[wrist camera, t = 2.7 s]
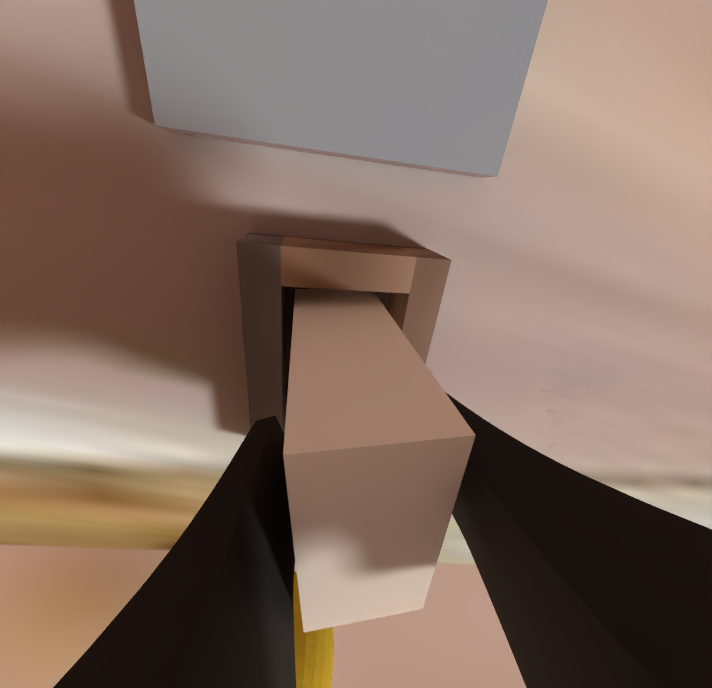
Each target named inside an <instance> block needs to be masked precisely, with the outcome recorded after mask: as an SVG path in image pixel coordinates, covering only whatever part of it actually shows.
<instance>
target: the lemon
mask: <svg viewBox="0 0 712 688" xmlns="http://www.w3.org/2000/svg"><path fill="white" fill-rule="evenodd" d="M293 606H294V643H295V668H296V688H330V687H331V679H332V669H333V654H334V653H333V652H334V643H333V629H332V627H329V628H324V629H319V630H314V631H309V632H303V623H302V615H301V606H300V597H299V589H298V580H297V574H296V572H295V571H294V592H293Z"/></svg>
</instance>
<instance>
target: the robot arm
mask: <svg viewBox="0 0 712 688" xmlns="http://www.w3.org/2000/svg"><path fill="white" fill-rule="evenodd" d="M445 393H446V392H445ZM446 394H447V393H446ZM447 396H448V397H449V398H450V400H451V401H452V403H453V404H454V405H455V407H456V408H457V410H458V411H459V412H460V414H461V415H462V417H463V418H464V420H465V421H466V422H467V424H468V425H469V427H470V428H471V429H472V431H473V432H474V434H475V435H476V436H475V439H474V442H473V445H472V449H471V452H470V455H469V459H468V462H467V465H466V468H465V472H464V475H463V478H462V481H461V485H460V488H459V491H458V495H457V498H456V501H455V504H454V508H453V511H452V515H453V516H454V518H455V520H456V522H457V524H458V526H459V528H460V530H461V532H462V534H463V536H464V538H465V540H466V542H467V545H468V547H469V549H470V551H471V554H472V556H473V558H474V561H475V563H476V565H477V568H478V570H479V572H480V575H481V577H482V579H483V582H484V584H485V587H486V589H487V591H488V594H489V596H490V599H491V601H492V603H493V606H494V608H495V611H496V613H497V616H498V618H499V620H500V623H501V625H502V628H503V630H504V632H505V635H506V637H507V640H508V642H509V645H510V647H511V650H512V652H513V655H514V657H515V660H516V662H517V665H518V667H519V670H520V672H521V675H522V677H523V680H524V682H525V685H526V687H527V688H712V529H709V528H707V527H704V526H702V525H699V524H697V523H694V522H692V521H689V520H687V519H684V518H682V517H679V516H677V515H674V514H672V513H669V512H667V511H664V510H662V509H659V508H657V507H654V506H652V505H650V504H647V503H645V502H643V501H640V500H638V499H636V498H634V497H631V496H629V495H627V494H625V493H622V492H620V491H618V490H616V489H614V488H611V487H609V486H607V485H605V484H602V483H600V482H598V481H596V480H594V479H591V478H589V477H587V476H585V475H583V474H580V473H578V472H576V471H574V470H572V469H570V468H568V467H566V466H564V465H562V464H560V463H558V462H556V461H555V460H553V459H551V458H549V457H547V456H545V455H543V454H541V453H539V452H538V451H536V450H534V449H532V448H530V447H529V446H527V445H525V444H523V443H522V442H520V441H518V440H516V439H515V438H513V437H511V436H510V435H508V434H507V433H505V432H503V431H502V430H500V429H498V428H497V427H495V426H494V425H492V424H490V423H489V422H487V421H486V420H484V419H483V418H481V417H480V416H478V415H477V414H475V413H474V412H472V411H471V410H470V409H468V408H467V407H465V406H464V405H462V404H461V403H460V402H458V401H457V400H455V399H454V398H453V397H451V396H450V395H449V394H447ZM284 436H285V434H284V432H283V430H282V428H281V426H280V424H279V422H278V419H277V417H276V415H275V416H271V417H268V418H264V419H260V420H257V421H255V423H254V425H253V426H252V428H251V429H250V431H249V433H248V434H247V436H246V437H245V439H244V441H243V442H242V444H241V446H240V447H239V449H238V451H237V452H236V454H235V456H234V457H233V459H232V461H231V462H230V464H229V465H228V467H227V469H226V470H225V472H224V473H223V475H222V476H221V478H220V480H219V481H218V483H217V484H216V486H215V488H214V489H213V491H212V492H211V494H210V495H209V497H208V498H207V499H206V501H205V502H204V504H203V505H202V507H201V508H200V510H199V511H198V513H197V514H196V516H195V517H194V518H193V520H192V521H191V523H190V524H189V526H188V527H187V529H186V530H185V531H184V533H183V534H182V535H181V537H180V538H179V539H178V541H177V542H176V543H175V545H174V546H173V547H172V549H171V550H170V551H169V553H168V554H167V555H166V556H165V558H164V559H163V560H162V562H161V563H160V564H159V565H158V567H157V568H156V569H155V571H154V572H153V573H152V574H151V576H150V577H149V578H148V579H147V581H146V582H145V583H144V584H143V586H142V587H141V588H140V589H139V590H138V592H137V593H136V594H135V595H134V596H133V597H132V599H131V600H130V601H129V602H128V604H127V605H126V606H125V607H124V608H123V609H122V610H121V612H120V613H119V614H118V615H117V616H116V617H115V618H114V620H113V621H112V622H111V623H110V624H109V626H108V627H107V628H106V629H105V630H104V631H103V633H102V634H101V635H100V636H99V637H98V638H97V639H96V641H95V642H94V643H93V644H92V645H91V646H90V648H89V649H88V650H87V651H86V652H85V653H84V654H83V655H82V657H81V658H80V659H79V660H78V661H77V662H76V663H75V664H74V666H72V668H71V669H70V670H69V671H68V672H67V673H66V674H65V675H64V676H63V677H62V679H61V680H60V681H59V682H58V683H57V684H56V685H55V686H54V687H53V688H296V668H295V643H294V606H293V592H294V565H295V554H294V545H293V537H292V528H291V519H290V510H289V502H288V493H287V484H286V476H285V467H284V458H283V449H284Z"/></svg>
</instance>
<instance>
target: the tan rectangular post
mask: <svg viewBox="0 0 712 688" xmlns="http://www.w3.org/2000/svg"><path fill="white" fill-rule="evenodd" d="M475 436H476V435H475V434H474V432H473V431H472V429H471V428H470V427H469V425H468V424H467V422H466V421H465V420H464V418H463V417H462V415H461V414H460V412H459V411H458V410H457V408H456V407H455V405H454V404H453V403H452V401H451V400H450V398H449V397H448V396H447V394H446V393H445V391H444V390H443V389H442V387H441V386H440V384H439V383H438V381H437V380H436V379H435V377H434V376H433V374H432V373H431V372H430V370H429V369H428V367H427V366H426V365H425V363H424V362H423V360H422V359H421V358H420V356H419V355H418V353H417V352H416V350H415V349H414V348H413V346H412V345H411V343H410V342H409V341H408V339H407V338H406V336H405V335H404V334H403V332H402V331H401V329H400V328H399V327H398V325H397V324H396V322H395V321H394V319H393V318H392V317H391V315H390V314H389V312H388V311H387V310H386V308H385V307H384V305H383V304H382V303H381V301H380V300H379V298H378V297H377V295H376V294H375V293H374V292H373V291H355V290H337V289H300V290H295V300H294V314H293V327H292V341H291V354H290V368H289V382H288V395H287V409H286V422H285V436H284V449H283V458H284V467H285V476H286V484H287V493H288V502H289V510H290V519H291V528H292V537H293V545H294V554H295V563H296V571H297V580H298V589H299V597H300V606H301V615H302V623H303V632H309V631H314V630H319V629H324V628H329V627H334V626H339V625H344V624H349V623H354V622H359V621H364V620H369V619H374V618H379V617H384V616H389V615H394V614H399V613H404V612H409V611H414V610H419V609H423V606H424V603H425V599H426V596H427V593H428V589H429V586H430V583H431V580H432V576H433V573H434V570H435V567H436V563H437V560H438V557H439V554H440V550H441V547H442V544H443V540H444V537H445V534H446V531H447V527H448V524H449V521H450V517H451V514H452V511H453V508H454V504H455V501H456V498H457V495H458V491H459V488H460V485H461V481H462V478H463V475H464V472H465V468H466V465H467V462H468V459H469V455H470V452H471V449H472V445H473V442H474V439H475Z"/></svg>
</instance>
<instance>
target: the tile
mask: <svg viewBox="0 0 712 688" xmlns="http://www.w3.org/2000/svg"><path fill="white" fill-rule="evenodd" d="M547 1H548V0H134V4H135V10H136V16H137V22H138V28H139V34H140V40H141V46H142V52H143V58H144V64H145V70H146V76H147V82H148V87H149V93H150V99H151V105H152V111H153V117H154V123H155V126H157V127H159V128H162V129H164V130H166V131H168V132H171V133H178V134H185V135H192V136H199V137H205V138H212V139H219V140H226V141H233V142H240V143H247V144H253V145H260V146H267V147H274V148H281V149H288V150H295V151H301V152H308V153H315V154H322V155H329V156H336V157H343V158H349V159H356V160H363V161H370V162H377V163H384V164H391V165H397V166H404V167H411V168H418V169H425V170H432V171H439V172H445V173H452V174H459V175H466V176H473V177H480V178H483V177H497V176H498V173H499V169H500V166H501V162H502V159H503V155H504V152H505V148H506V145H507V141H508V137H509V134H510V130H511V127H512V123H513V120H514V116H515V113H516V109H517V106H518V102H519V99H520V95H521V92H522V88H523V85H524V81H525V78H526V74H527V71H528V67H529V64H530V60H531V57H532V53H533V50H534V46H535V43H536V39H537V36H538V32H539V29H540V25H541V22H542V18H543V15H544V11H545V8H546V4H547Z"/></svg>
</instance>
